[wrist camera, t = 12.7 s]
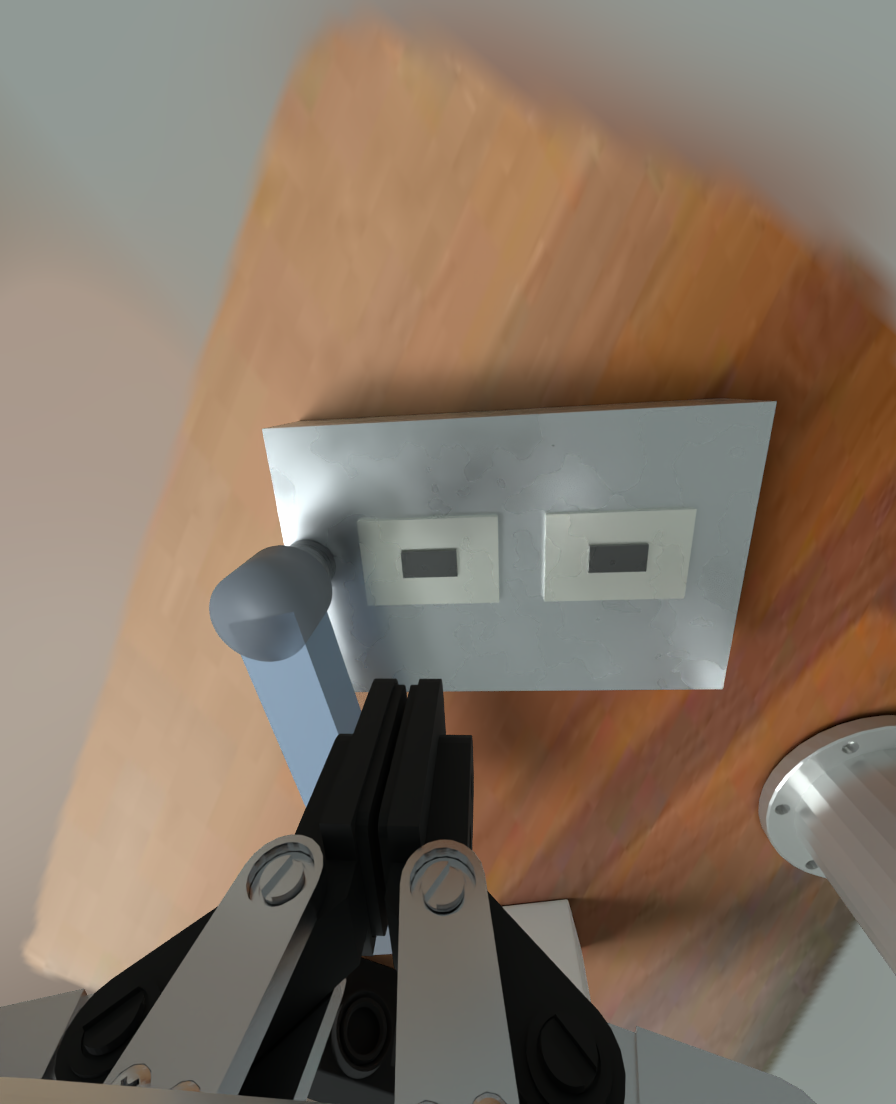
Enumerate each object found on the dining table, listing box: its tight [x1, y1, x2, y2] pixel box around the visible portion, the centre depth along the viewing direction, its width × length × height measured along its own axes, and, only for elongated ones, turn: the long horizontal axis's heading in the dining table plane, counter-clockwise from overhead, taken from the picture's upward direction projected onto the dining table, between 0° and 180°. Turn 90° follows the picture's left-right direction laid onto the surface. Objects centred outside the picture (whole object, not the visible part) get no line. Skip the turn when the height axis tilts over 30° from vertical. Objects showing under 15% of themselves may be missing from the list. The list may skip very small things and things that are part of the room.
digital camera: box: [307, 958, 398, 1104], centre depth 35 cm, size 10×5×7 cm, turn 65°
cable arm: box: [209, 545, 392, 955], centre depth 20 cm, size 20×4×3 cm, turn 12°
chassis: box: [262, 398, 777, 692], centre depth 21 cm, size 20×13×6 cm, turn 93°
